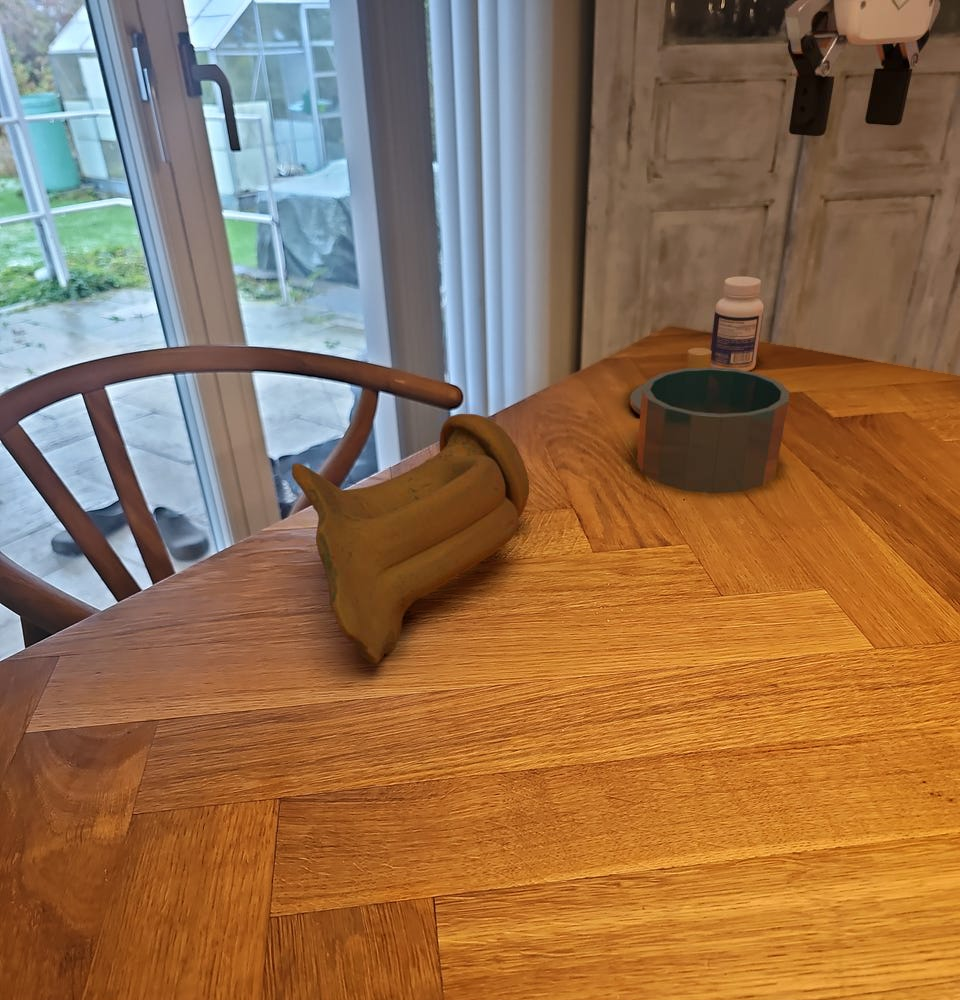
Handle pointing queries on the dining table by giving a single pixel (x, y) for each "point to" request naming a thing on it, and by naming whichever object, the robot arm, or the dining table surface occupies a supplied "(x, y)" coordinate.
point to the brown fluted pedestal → (415, 528)
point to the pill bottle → (737, 325)
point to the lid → (694, 360)
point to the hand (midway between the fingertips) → (845, 129)
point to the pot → (711, 429)
